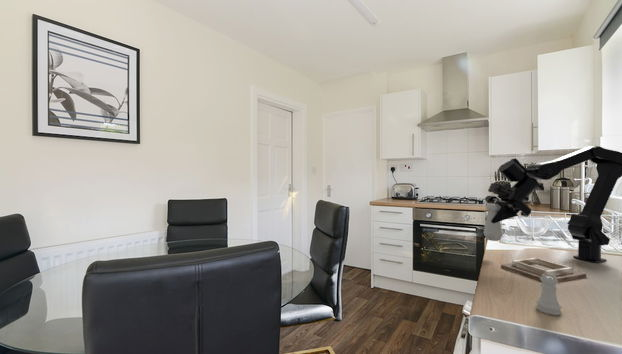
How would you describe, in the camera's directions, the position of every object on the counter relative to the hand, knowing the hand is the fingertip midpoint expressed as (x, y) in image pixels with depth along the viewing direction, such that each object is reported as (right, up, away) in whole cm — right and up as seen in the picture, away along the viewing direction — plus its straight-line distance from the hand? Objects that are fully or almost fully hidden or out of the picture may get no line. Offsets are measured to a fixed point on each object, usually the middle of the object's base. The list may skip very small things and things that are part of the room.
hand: (489, 221), depth 102 cm
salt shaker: (+1, -7, 0) cm, 7 cm away
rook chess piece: (-12, -14, -39) cm, 43 cm away
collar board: (+7, -13, -15) cm, 21 cm away
